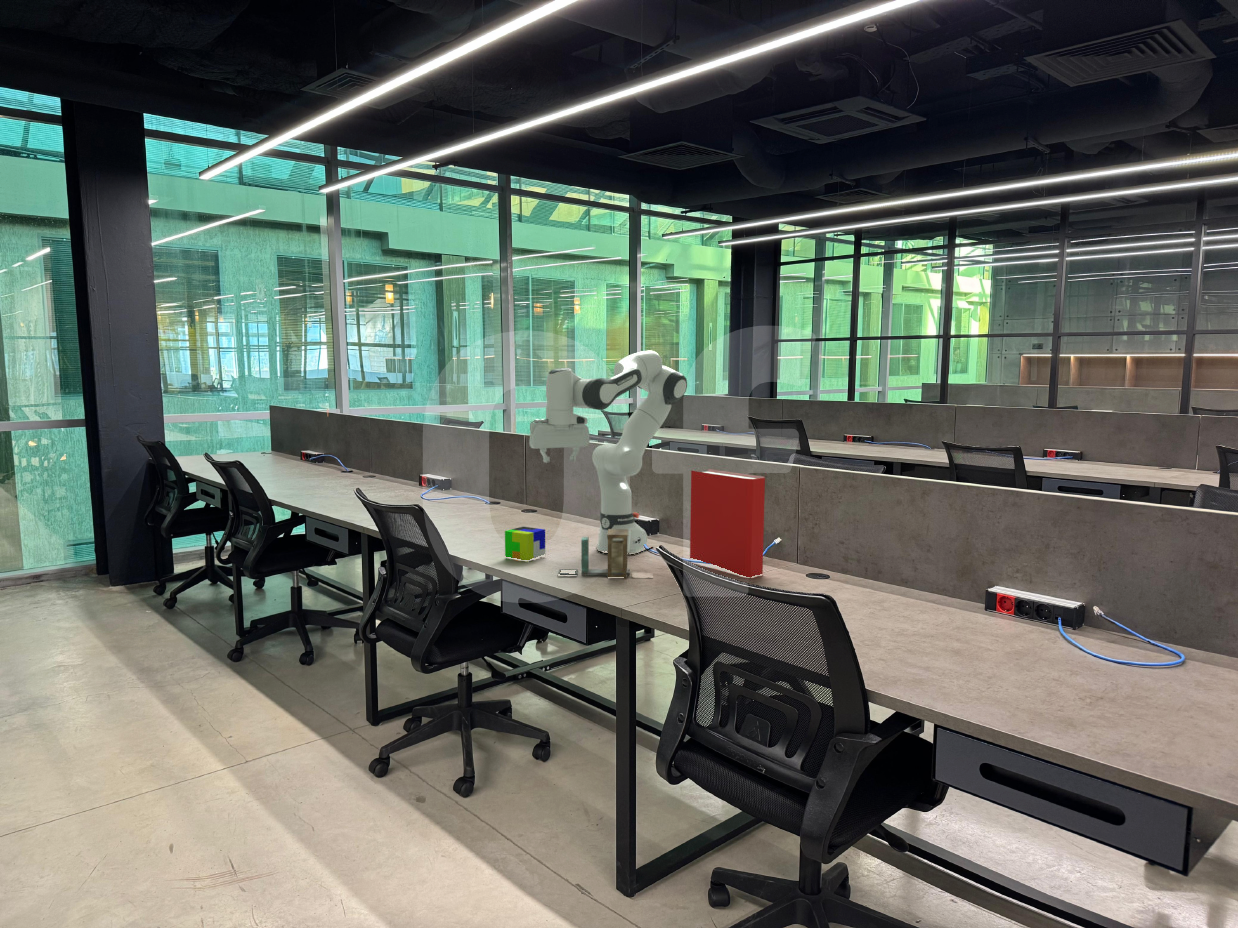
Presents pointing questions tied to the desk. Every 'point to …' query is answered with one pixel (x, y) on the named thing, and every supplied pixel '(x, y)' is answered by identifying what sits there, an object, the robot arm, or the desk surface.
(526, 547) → the puzzle toy
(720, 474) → the book
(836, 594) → the desk surface
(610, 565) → the tunnel
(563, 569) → the tray
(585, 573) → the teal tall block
